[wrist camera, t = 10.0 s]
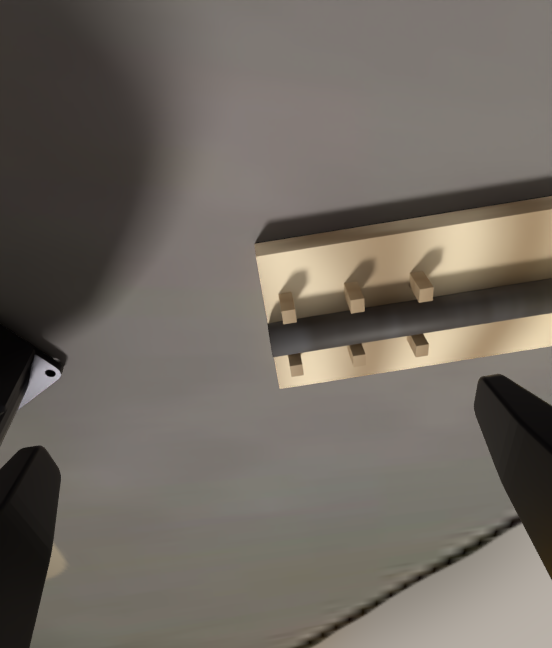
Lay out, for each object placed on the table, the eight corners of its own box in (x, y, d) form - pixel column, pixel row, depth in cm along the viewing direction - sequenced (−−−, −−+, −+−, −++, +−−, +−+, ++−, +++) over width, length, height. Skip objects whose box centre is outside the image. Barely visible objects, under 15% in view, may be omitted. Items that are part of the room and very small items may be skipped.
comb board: (277, 373, 26) (285, 436, 22) (254, 243, 21) (260, 297, 18) (676, 310, 26) (748, 363, 22) (744, 164, 21) (850, 203, 17)
